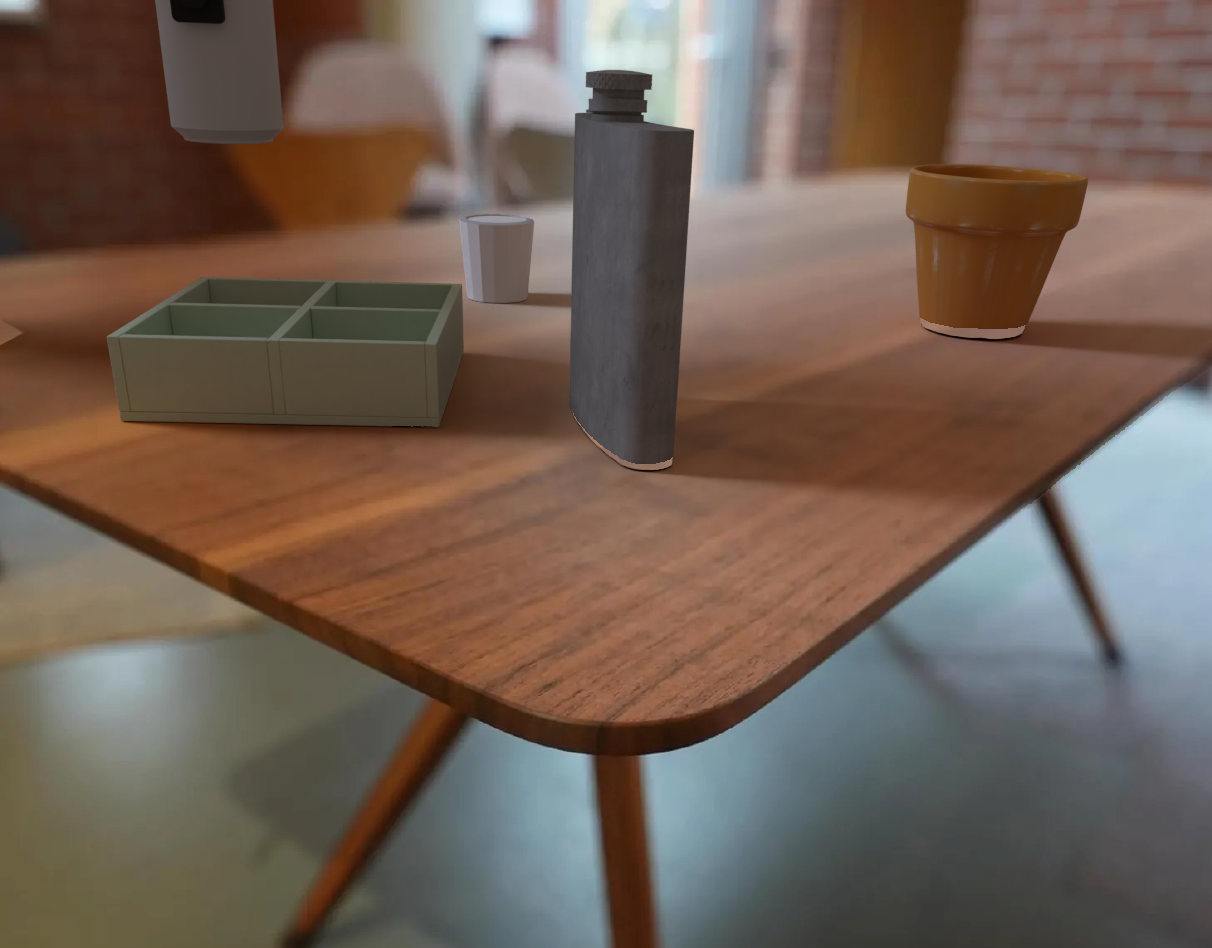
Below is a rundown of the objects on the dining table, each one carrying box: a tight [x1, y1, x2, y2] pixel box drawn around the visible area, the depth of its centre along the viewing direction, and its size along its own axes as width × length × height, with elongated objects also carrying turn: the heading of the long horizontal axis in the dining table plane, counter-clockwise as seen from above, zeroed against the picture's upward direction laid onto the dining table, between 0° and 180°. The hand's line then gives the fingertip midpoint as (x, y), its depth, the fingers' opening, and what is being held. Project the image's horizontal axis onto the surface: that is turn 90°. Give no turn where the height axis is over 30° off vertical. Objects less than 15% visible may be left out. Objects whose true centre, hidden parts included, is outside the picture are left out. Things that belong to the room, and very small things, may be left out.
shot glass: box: [458, 213, 535, 304], centre depth 103 cm, size 7×7×7 cm
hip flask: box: [568, 69, 695, 464], centre depth 64 cm, size 16×4×20 cm, turn 14°
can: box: [154, 0, 284, 145], centre depth 75 cm, size 8×8×12 cm
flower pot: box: [905, 163, 1089, 329], centre depth 95 cm, size 14×14×13 cm
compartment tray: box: [106, 276, 465, 428], centre depth 75 cm, size 19×19×5 cm
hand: (216, 22), depth 75 cm, fingers closed on can, 7 cm apart
